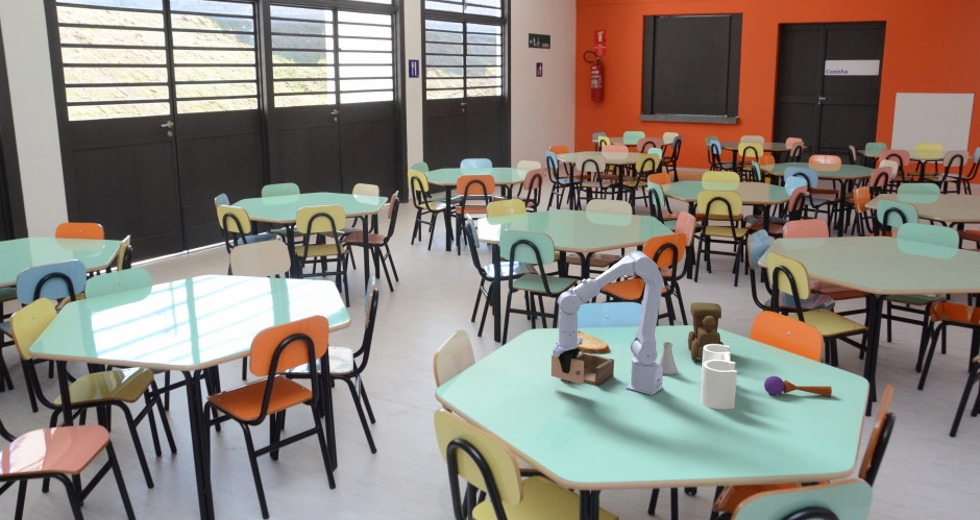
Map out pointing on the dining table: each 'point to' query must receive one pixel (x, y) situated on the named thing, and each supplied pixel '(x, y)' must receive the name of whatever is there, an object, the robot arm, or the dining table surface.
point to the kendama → (793, 387)
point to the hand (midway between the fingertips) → (567, 371)
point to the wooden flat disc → (592, 344)
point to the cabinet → (596, 368)
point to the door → (574, 374)
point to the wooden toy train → (704, 327)
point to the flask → (668, 360)
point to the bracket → (718, 377)
